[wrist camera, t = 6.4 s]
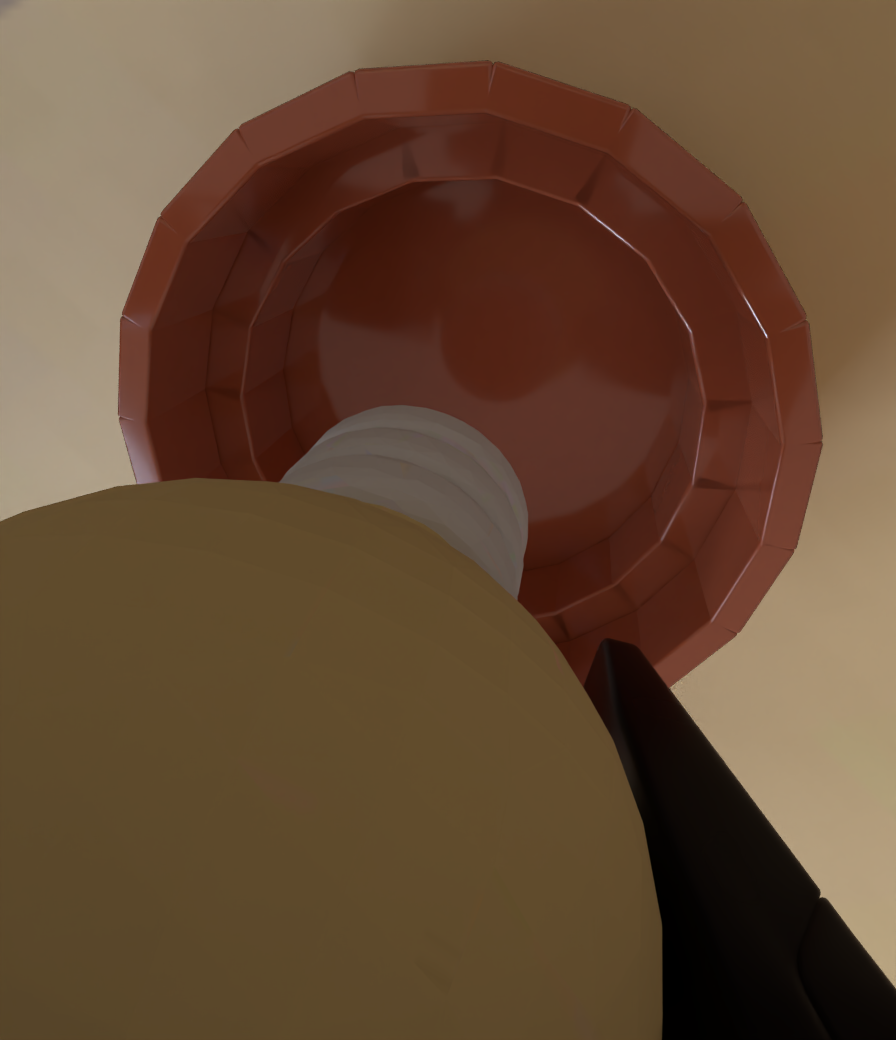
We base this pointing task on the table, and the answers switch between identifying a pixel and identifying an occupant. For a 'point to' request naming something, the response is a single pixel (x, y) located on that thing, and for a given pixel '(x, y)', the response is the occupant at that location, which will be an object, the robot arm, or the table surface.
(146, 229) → the table surface
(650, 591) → the bowl
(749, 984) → the robot arm
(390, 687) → the light bulb
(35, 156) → the table surface
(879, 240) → the table surface
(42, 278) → the table surface
